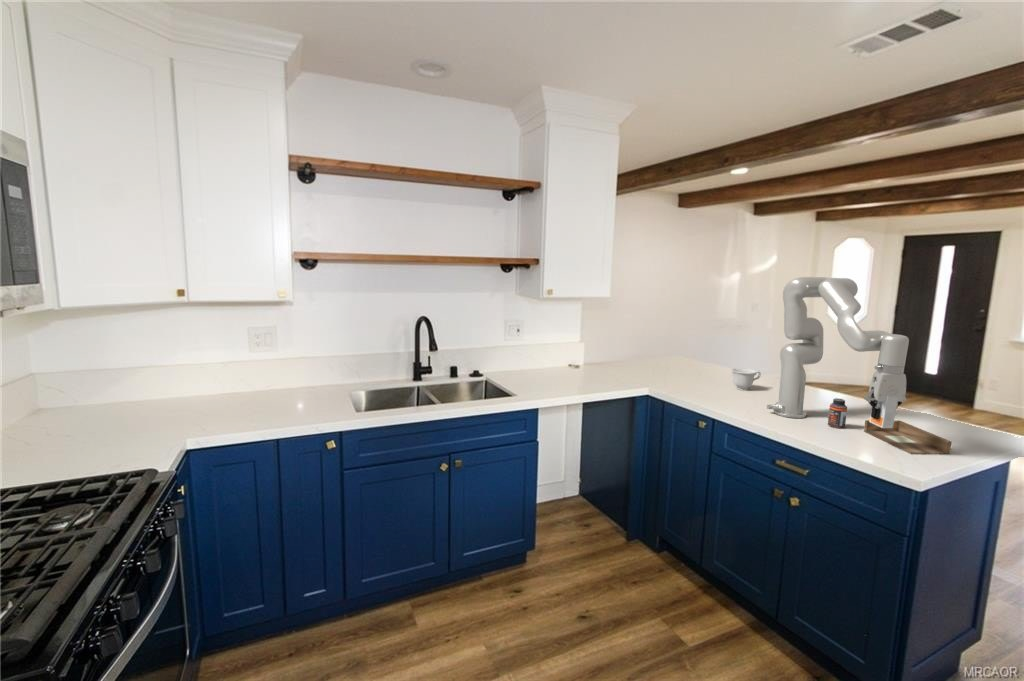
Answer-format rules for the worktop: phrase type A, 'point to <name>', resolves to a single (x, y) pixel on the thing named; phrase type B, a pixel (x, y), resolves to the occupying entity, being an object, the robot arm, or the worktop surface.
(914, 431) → the wooden tray
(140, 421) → the worktop surface
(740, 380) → the teacup
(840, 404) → the supplement bottle
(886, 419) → the skincare box
